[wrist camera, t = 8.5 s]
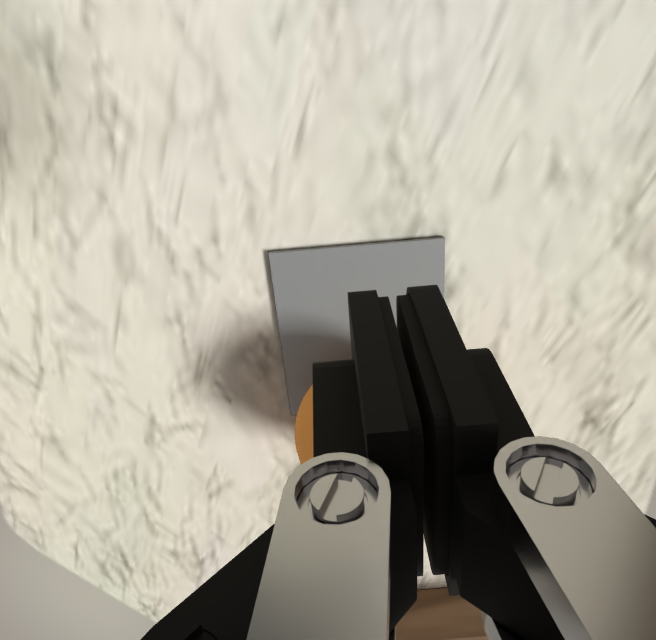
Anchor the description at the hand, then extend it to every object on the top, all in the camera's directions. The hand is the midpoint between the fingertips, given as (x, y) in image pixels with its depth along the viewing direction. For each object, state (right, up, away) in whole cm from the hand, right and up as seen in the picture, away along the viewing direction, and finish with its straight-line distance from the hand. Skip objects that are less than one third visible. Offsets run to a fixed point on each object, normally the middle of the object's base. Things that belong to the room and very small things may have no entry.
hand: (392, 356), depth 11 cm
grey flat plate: (0, 0, +14) cm, 14 cm away
